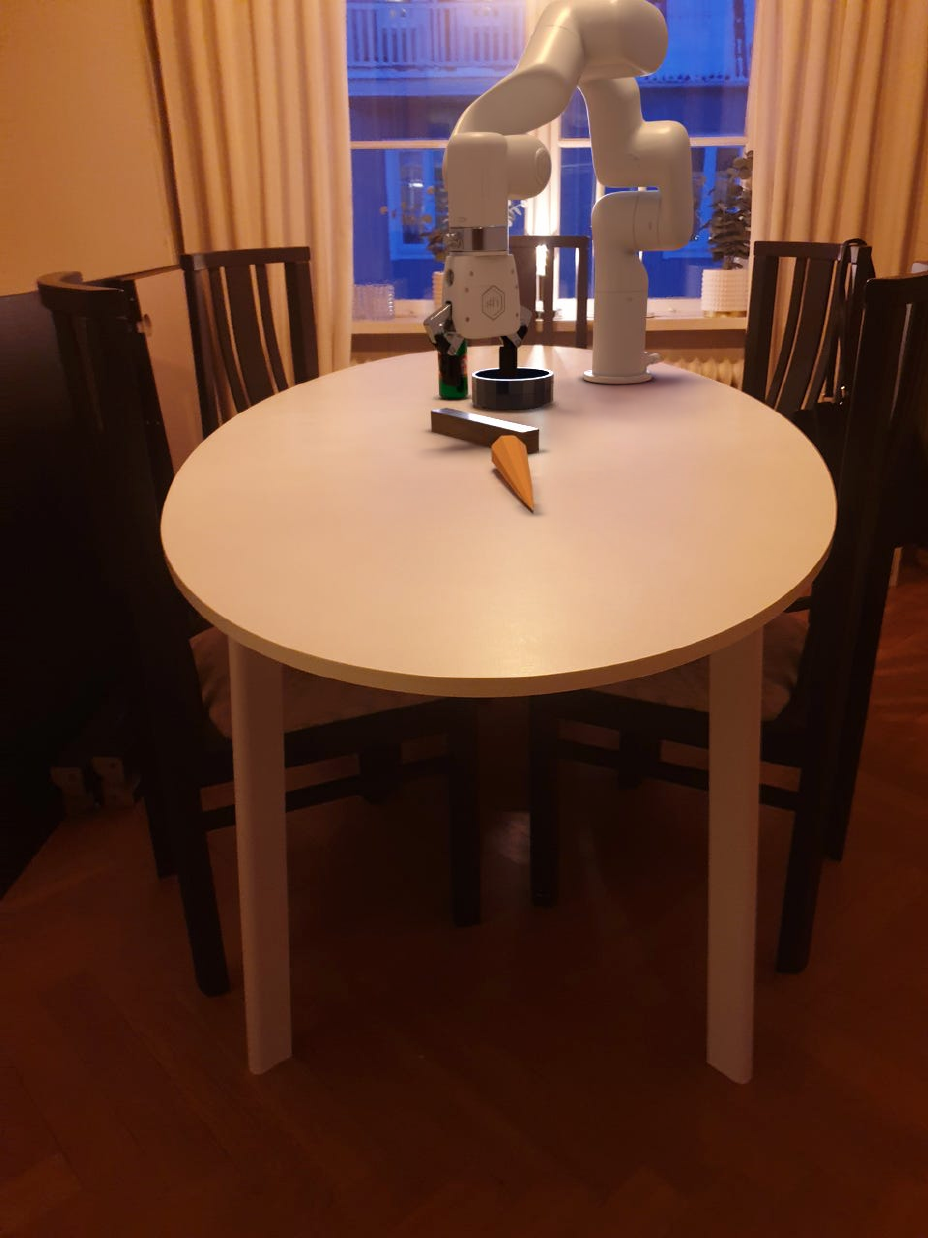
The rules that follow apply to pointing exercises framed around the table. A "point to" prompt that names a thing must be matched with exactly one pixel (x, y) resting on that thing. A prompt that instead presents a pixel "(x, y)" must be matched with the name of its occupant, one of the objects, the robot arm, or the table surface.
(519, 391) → the bowl
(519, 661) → the table surface
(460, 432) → the rectangular bar
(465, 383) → the soda can
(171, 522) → the table surface
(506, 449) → the carrot
